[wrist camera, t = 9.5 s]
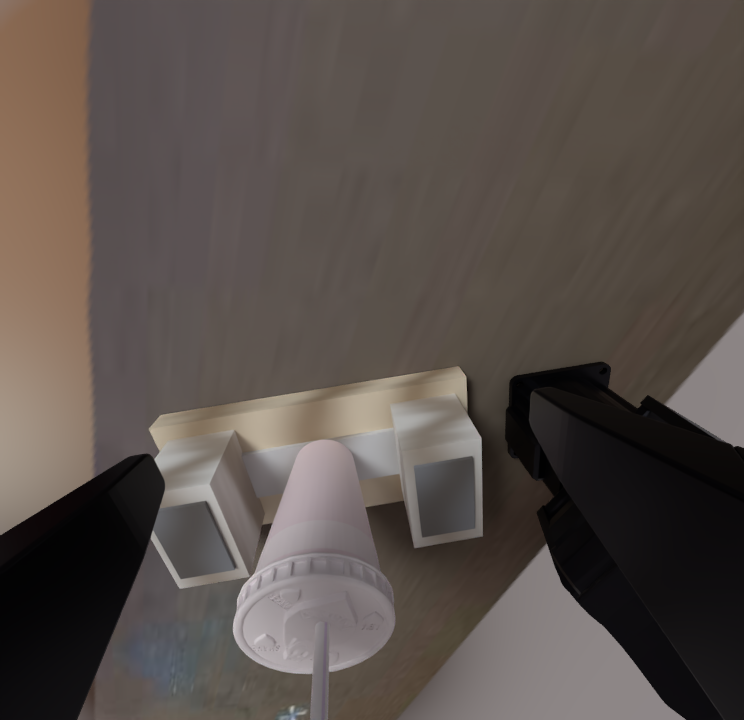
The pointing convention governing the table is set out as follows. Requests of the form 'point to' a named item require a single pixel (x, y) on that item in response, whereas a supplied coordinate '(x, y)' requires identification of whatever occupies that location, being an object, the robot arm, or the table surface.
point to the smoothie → (317, 578)
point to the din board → (278, 454)
